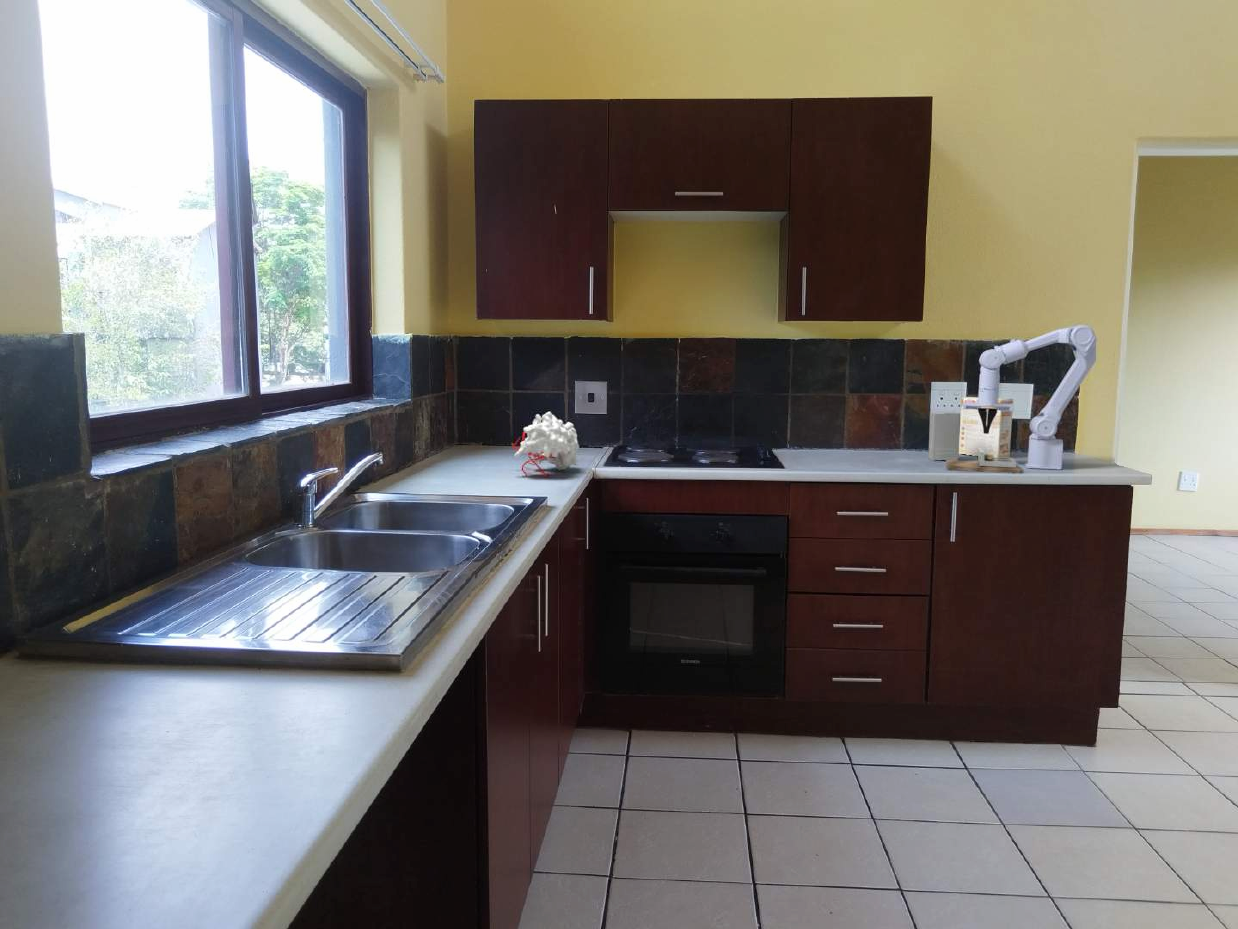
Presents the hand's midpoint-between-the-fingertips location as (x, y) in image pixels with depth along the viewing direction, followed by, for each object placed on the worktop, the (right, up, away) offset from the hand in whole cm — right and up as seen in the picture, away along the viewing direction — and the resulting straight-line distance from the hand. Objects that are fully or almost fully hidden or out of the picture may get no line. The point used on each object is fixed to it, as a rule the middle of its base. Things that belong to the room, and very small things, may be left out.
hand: (986, 433), depth 279 cm
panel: (0, -10, -7) cm, 12 cm away
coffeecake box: (+9, -7, +24) cm, 26 cm away
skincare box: (-9, -8, +13) cm, 18 cm away
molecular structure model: (-133, -13, -23) cm, 136 cm away
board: (-4, -11, -6) cm, 13 cm away
